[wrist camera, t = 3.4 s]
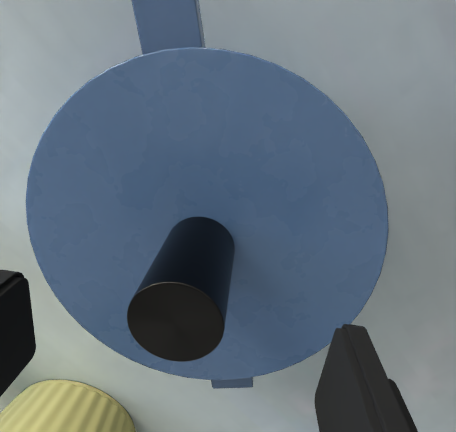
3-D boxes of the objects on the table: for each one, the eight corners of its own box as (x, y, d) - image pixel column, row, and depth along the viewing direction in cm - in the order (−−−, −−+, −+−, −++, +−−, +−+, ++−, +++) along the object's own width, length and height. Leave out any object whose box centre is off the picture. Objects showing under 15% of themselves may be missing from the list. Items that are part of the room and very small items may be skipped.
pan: (142, 331, 25) (110, 402, 20) (57, 37, 18) (-32, 20, 13) (340, 321, 24) (365, 395, 18) (334, -12, 16) (374, -58, 11)
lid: (95, 368, 20) (29, 486, 14) (-12, 82, 14) (-200, 84, 8) (374, 356, 18) (430, 489, 12) (385, 17, 12) (503, -40, 6)
